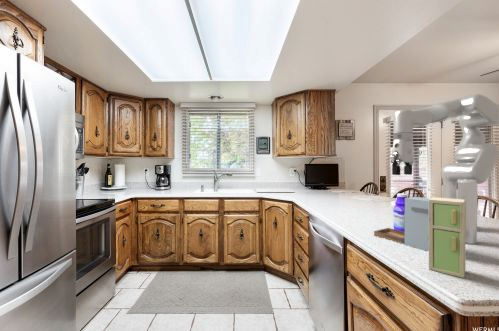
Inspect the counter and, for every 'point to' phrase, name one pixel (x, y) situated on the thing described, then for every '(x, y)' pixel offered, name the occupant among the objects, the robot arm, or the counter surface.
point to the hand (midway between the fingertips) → (402, 174)
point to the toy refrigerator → (447, 236)
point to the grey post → (468, 207)
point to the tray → (391, 234)
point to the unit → (417, 222)
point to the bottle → (399, 212)
